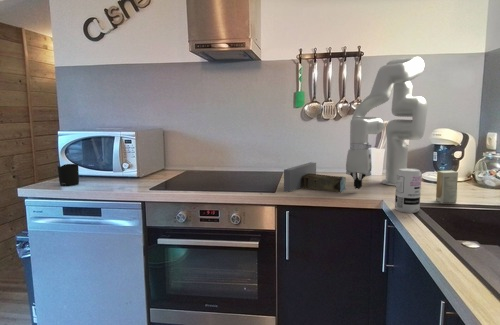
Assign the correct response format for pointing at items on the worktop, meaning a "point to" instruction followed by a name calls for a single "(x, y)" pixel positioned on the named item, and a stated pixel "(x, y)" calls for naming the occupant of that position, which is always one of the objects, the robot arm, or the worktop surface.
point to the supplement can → (408, 190)
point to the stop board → (297, 176)
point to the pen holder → (68, 174)
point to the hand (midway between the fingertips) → (357, 188)
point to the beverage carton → (324, 182)
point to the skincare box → (446, 186)
